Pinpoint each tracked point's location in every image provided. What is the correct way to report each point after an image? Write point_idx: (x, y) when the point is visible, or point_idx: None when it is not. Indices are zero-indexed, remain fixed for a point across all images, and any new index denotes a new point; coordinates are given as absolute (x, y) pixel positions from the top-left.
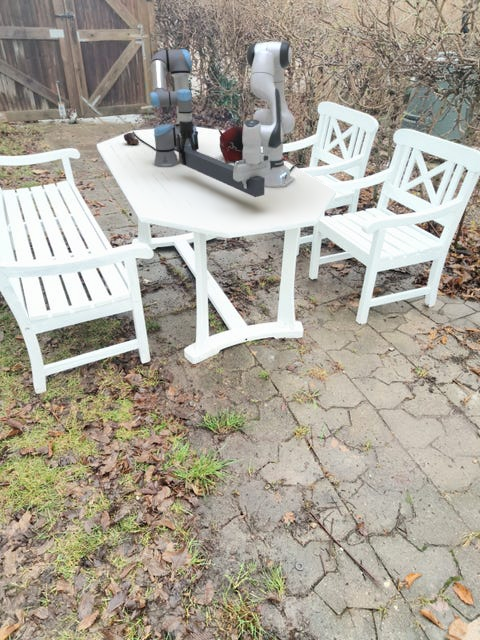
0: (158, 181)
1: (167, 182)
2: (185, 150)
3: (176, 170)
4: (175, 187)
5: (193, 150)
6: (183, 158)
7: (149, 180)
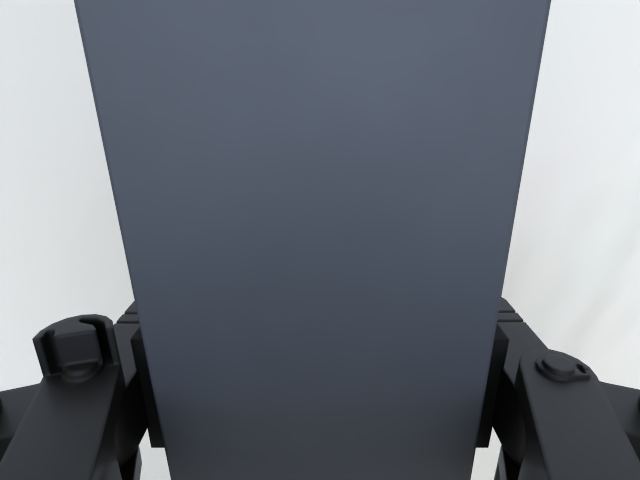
0: (592, 310)
1: (554, 237)
2: (409, 441)
3: None
4: (611, 30)
5: (180, 306)
6: None
7: (626, 373)
